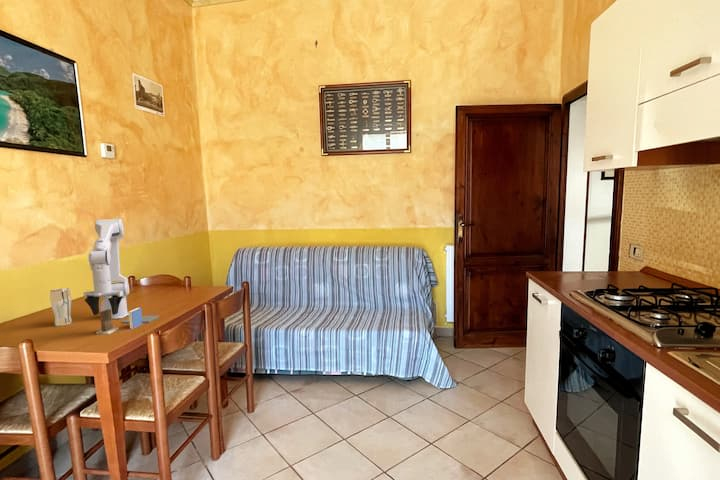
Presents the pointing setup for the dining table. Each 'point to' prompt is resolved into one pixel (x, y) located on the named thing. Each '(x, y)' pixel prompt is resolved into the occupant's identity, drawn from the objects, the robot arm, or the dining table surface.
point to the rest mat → (143, 319)
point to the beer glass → (61, 306)
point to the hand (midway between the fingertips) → (105, 314)
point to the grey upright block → (106, 323)
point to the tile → (135, 318)
